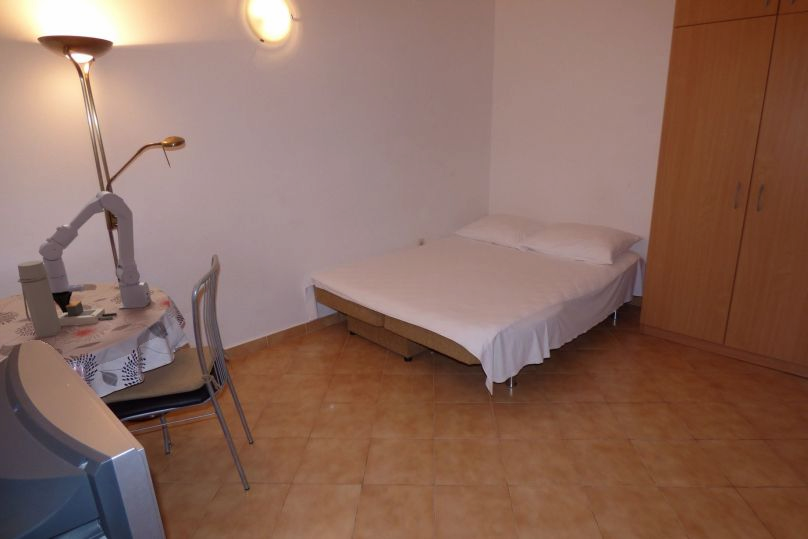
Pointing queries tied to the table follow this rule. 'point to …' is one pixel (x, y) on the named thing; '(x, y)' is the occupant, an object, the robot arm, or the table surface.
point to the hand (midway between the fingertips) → (66, 311)
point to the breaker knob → (74, 308)
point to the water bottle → (39, 298)
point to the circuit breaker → (81, 317)
